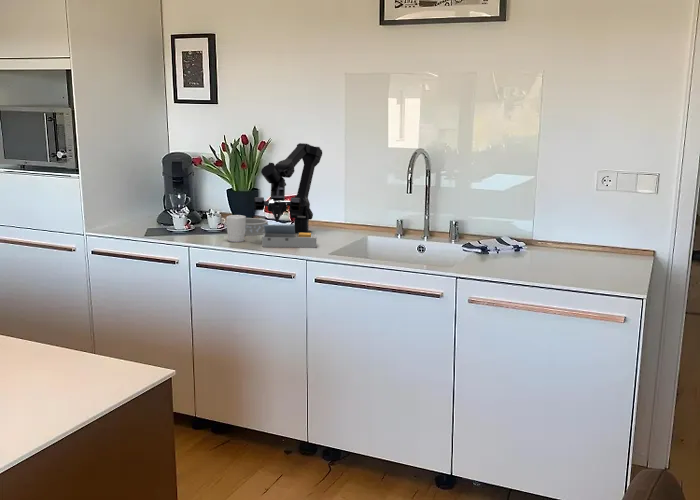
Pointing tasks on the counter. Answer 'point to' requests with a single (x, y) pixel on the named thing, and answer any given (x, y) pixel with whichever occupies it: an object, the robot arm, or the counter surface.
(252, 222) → the dog bowl
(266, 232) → the panel
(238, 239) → the white cup
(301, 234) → the mustard yellow box
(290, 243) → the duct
